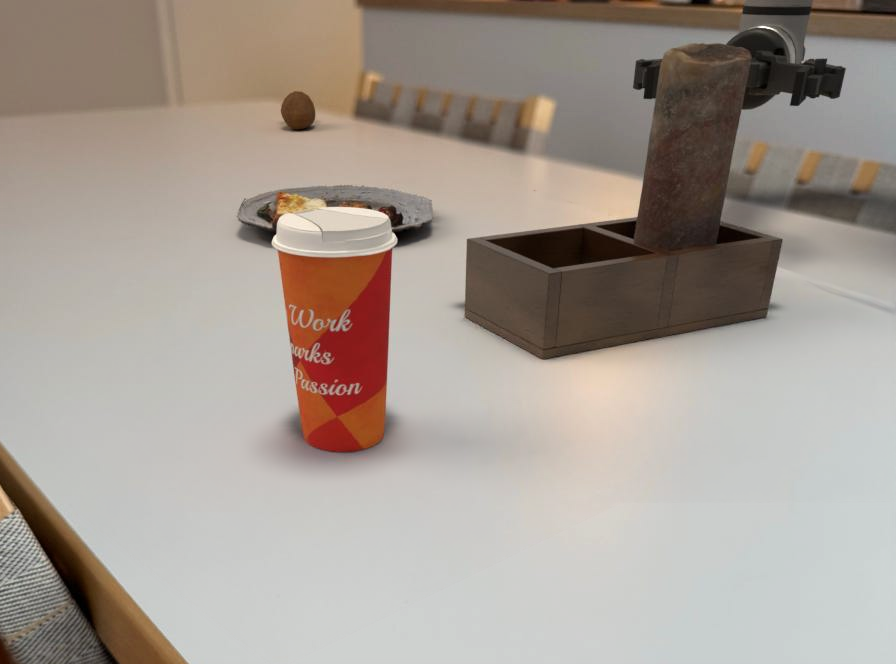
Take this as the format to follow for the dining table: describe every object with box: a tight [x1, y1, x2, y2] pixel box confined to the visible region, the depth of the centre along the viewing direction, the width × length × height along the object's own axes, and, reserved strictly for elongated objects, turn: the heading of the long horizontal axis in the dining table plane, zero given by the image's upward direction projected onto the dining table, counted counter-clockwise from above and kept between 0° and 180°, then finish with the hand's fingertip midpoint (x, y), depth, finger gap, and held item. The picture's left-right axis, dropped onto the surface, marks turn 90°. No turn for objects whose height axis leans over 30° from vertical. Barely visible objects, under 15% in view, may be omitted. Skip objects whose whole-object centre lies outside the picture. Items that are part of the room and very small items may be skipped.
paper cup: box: [271, 207, 398, 453], centre depth 62 cm, size 8×8×14 cm
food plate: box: [236, 184, 434, 233], centre depth 116 cm, size 25×23×4 cm
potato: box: [280, 90, 316, 130], centre depth 183 cm, size 7×10×6 cm
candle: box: [634, 42, 752, 251], centre depth 84 cm, size 8×7×20 cm
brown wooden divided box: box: [464, 216, 784, 360], centre depth 86 cm, size 25×13×7 cm, turn 118°
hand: (721, 85), depth 89 cm, fingers open, 13 cm apart
